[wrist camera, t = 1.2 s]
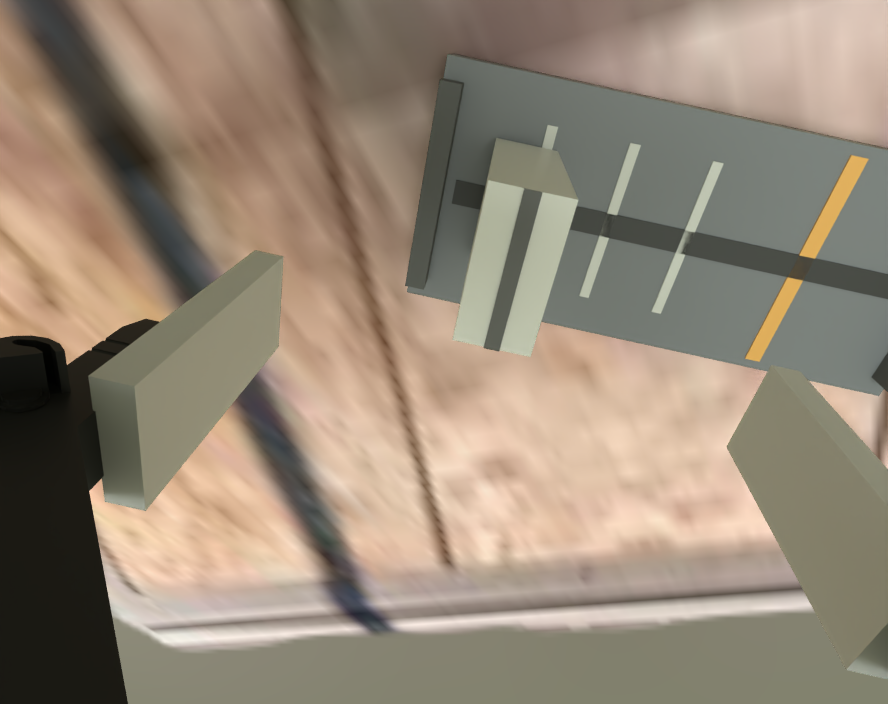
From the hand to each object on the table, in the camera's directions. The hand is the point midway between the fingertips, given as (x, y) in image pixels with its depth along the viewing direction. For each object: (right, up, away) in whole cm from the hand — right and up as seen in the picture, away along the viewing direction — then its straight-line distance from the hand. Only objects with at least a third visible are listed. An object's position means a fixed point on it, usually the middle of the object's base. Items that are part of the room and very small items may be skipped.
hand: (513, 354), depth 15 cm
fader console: (+11, +7, +16) cm, 21 cm away
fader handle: (+2, +7, +13) cm, 15 cm away
